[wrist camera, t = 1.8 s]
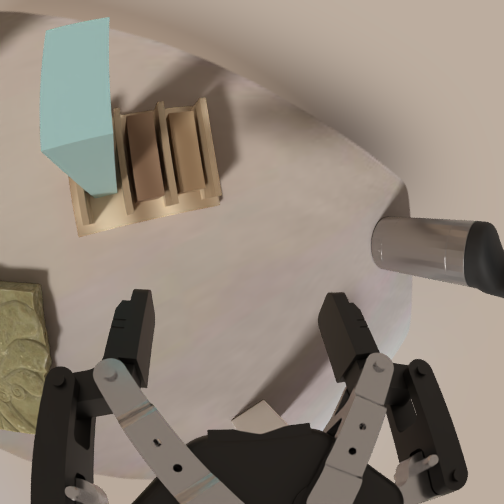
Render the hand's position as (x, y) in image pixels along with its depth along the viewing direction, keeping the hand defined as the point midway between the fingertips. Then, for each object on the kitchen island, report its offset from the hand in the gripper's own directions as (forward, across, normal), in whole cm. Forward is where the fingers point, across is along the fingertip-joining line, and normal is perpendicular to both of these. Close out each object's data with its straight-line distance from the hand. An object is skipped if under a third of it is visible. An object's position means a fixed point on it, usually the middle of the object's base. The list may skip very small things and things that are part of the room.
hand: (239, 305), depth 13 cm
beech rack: (+21, +9, +1) cm, 23 cm away
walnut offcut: (+20, +9, +1) cm, 22 cm away
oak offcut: (+22, +5, +1) cm, 22 cm away
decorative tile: (+5, +29, +18) cm, 34 cm away
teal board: (+19, +13, +1) cm, 23 cm away
